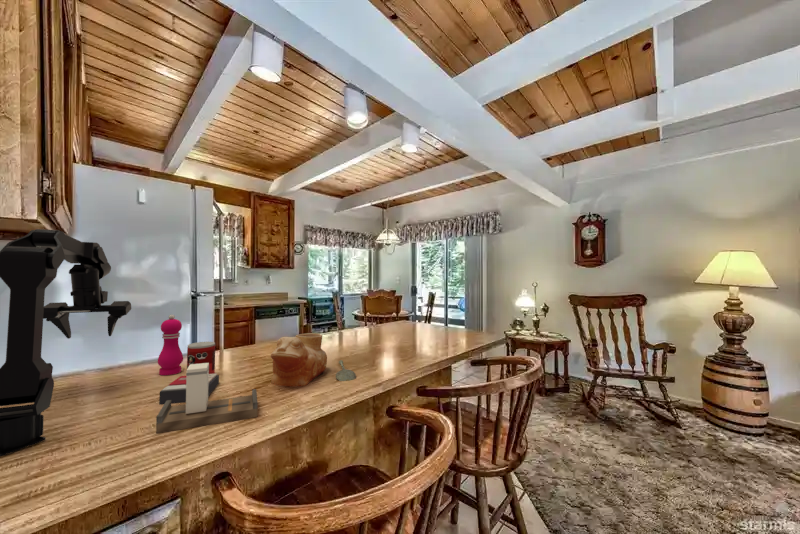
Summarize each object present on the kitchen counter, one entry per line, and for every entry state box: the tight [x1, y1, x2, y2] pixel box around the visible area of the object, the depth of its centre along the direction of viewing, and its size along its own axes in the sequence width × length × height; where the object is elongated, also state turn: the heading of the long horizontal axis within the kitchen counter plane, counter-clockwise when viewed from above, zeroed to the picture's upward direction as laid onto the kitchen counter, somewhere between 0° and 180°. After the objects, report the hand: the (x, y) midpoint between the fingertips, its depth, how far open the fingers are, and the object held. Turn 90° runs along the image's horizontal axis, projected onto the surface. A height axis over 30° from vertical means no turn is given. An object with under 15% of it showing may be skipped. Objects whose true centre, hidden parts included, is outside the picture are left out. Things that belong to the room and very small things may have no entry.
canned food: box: [186, 341, 216, 374], centre depth 109 cm, size 8×8×11 cm
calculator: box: [158, 373, 220, 405], centre depth 95 cm, size 11×4×15 cm
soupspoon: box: [335, 360, 357, 382], centre depth 117 cm, size 22×3×7 cm
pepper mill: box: [157, 314, 184, 376], centre depth 114 cm, size 7×7×20 cm
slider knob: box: [185, 363, 209, 414], centre depth 79 cm, size 4×5×10 cm
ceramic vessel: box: [270, 332, 328, 387], centre depth 110 cm, size 14×26×15 cm, turn 170°
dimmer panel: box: [155, 388, 259, 434], centre depth 80 cm, size 20×10×4 cm, turn 115°
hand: (90, 336), depth 97 cm, fingers open, 9 cm apart
